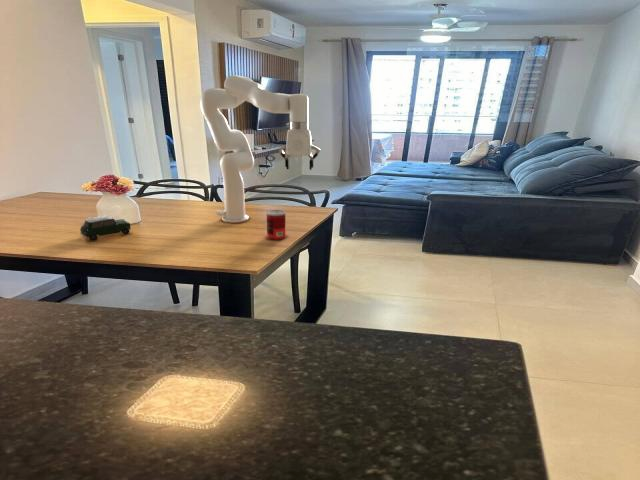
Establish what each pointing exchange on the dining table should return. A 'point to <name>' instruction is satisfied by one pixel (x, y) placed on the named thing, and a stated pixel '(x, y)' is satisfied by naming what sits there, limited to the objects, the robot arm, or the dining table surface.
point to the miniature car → (103, 227)
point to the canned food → (276, 224)
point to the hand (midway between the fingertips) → (299, 169)
